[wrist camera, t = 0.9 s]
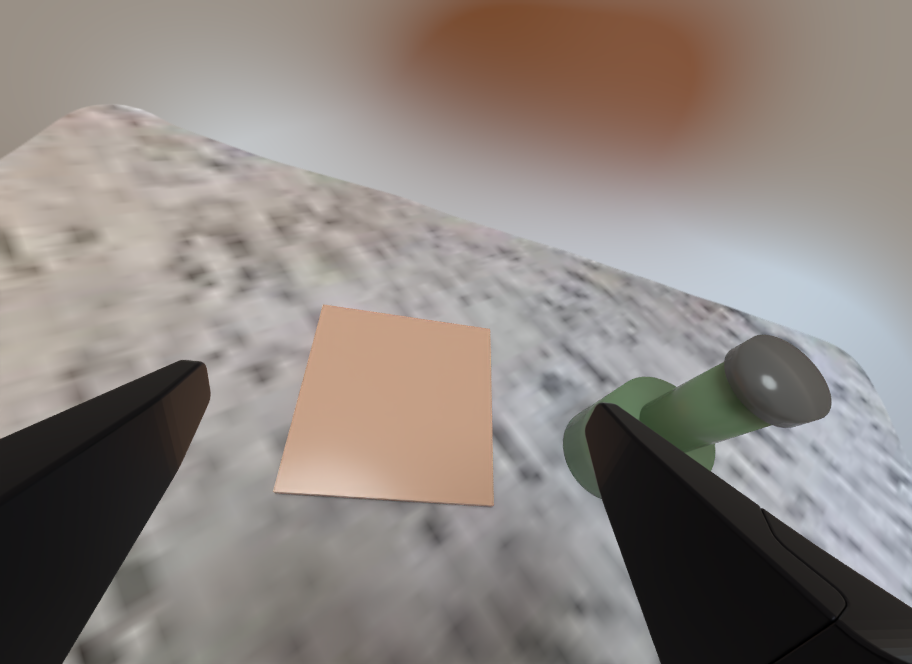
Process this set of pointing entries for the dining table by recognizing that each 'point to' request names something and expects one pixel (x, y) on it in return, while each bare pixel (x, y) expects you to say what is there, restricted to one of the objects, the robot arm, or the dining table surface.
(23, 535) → the robot arm
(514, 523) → the dining table surface
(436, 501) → the tile
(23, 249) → the dining table surface
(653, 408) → the bottle
